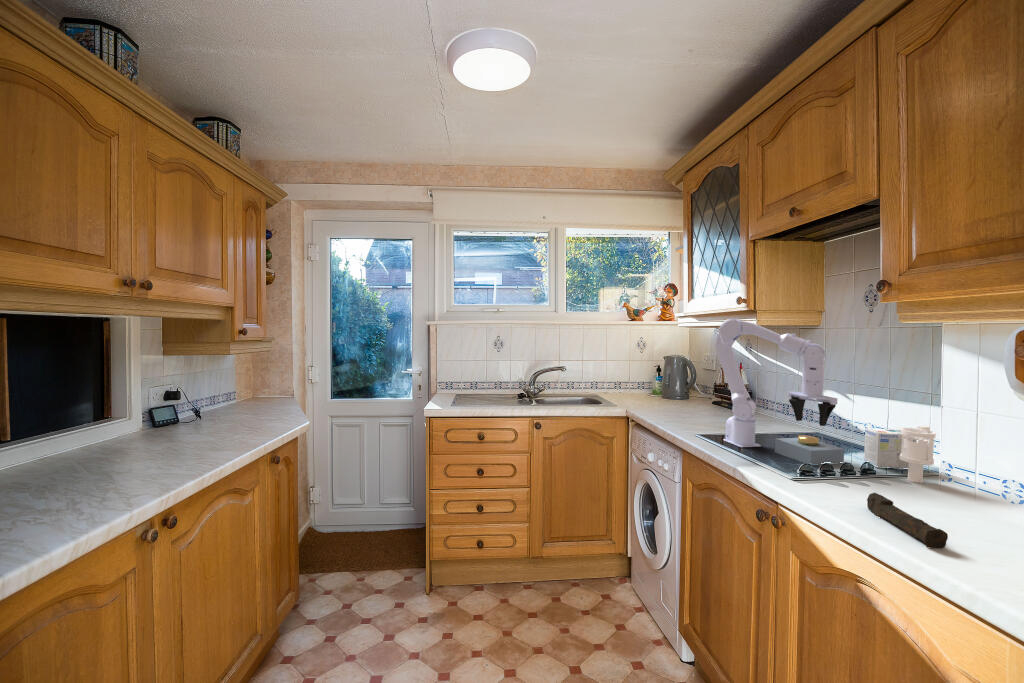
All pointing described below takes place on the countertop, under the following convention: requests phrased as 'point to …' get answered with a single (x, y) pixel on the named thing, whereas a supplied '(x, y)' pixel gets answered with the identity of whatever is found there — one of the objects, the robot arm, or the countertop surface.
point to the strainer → (917, 450)
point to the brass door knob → (808, 440)
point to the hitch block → (809, 451)
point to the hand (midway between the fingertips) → (810, 423)
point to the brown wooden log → (906, 521)
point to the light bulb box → (884, 448)
